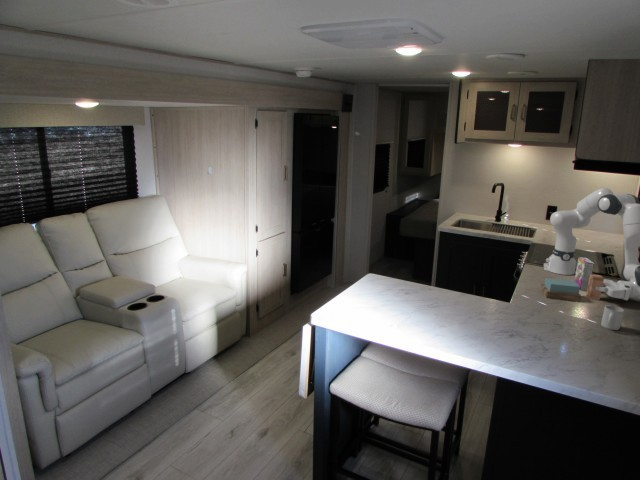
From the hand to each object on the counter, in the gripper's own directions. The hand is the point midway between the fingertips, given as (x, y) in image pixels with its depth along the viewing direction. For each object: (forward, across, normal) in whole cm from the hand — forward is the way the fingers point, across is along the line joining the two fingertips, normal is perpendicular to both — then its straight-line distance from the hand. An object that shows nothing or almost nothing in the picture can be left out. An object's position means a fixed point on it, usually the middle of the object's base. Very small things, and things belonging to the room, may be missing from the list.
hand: (593, 285), depth 241 cm
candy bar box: (0, -16, +7) cm, 17 cm away
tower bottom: (+16, +3, +7) cm, 18 cm away
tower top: (+16, +3, +3) cm, 16 cm away
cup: (+5, +41, +7) cm, 42 cm away
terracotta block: (-1, 0, +6) cm, 7 cm away
